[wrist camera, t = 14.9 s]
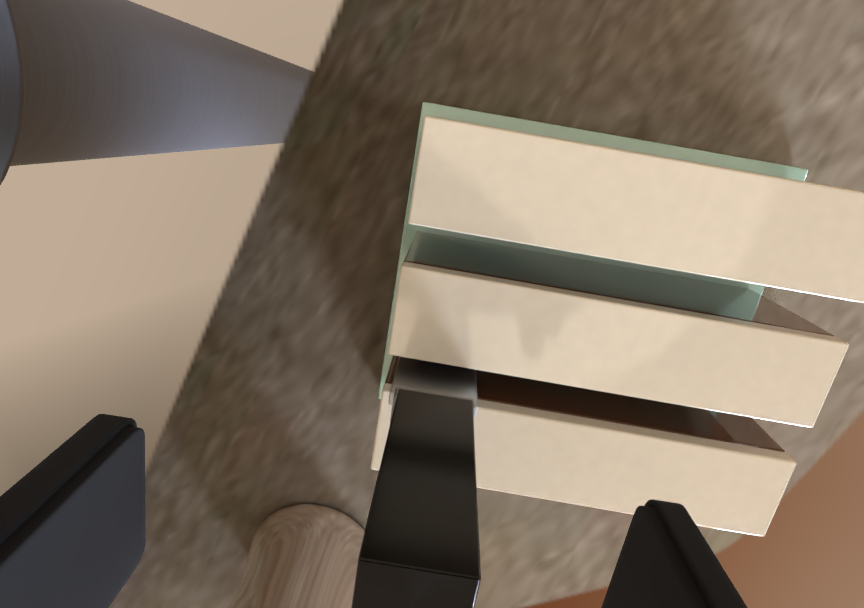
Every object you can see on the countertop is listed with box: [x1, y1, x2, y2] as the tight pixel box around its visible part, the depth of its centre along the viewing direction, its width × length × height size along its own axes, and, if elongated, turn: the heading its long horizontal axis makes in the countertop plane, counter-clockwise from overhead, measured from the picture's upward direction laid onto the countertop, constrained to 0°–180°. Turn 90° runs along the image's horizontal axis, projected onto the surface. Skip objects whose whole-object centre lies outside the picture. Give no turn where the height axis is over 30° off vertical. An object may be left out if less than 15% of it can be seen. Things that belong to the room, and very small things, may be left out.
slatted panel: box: [371, 102, 864, 537], centre depth 19 cm, size 14×12×6 cm
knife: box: [351, 356, 481, 608], centre depth 15 cm, size 2×1×14 cm, turn 82°
